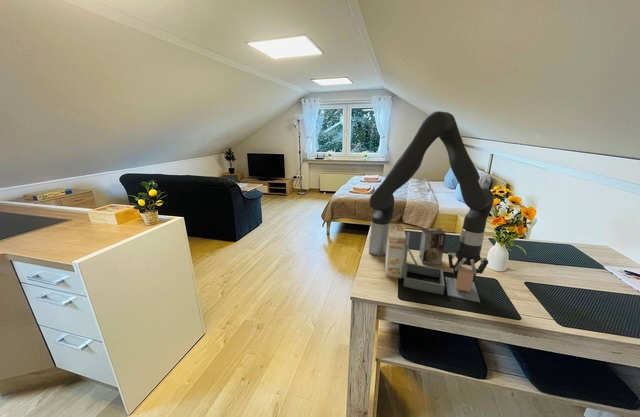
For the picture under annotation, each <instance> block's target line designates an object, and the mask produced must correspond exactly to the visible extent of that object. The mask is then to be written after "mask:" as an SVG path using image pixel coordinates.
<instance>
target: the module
mask: <svg viewBox="0 0 640 417" xmlns="http://www.w3.org/2000/svg"><path fill="white" fill-rule="evenodd" d="M473 277H474V272H473V270H472V267H471V266H469V265H462V266H461V267H460V268H458V273H457V278H456V279H455V278H454V277H453V278H454V282H455V288H456V289H459V290H464V291H469V292H470V290H471V286H472V281H473ZM473 282H474V281H473Z"/></svg>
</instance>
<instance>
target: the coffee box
mask: <svg viewBox="0 0 640 417" xmlns="http://www.w3.org/2000/svg"><path fill="white" fill-rule="evenodd" d="M420 236H421V238H420V243H419V244H420V245H419V255H418V258H419V261H420V262H421V264H427V265H428V264H435V265H441V264H442V261H443V255H444V249H445V241H446V236H447V234H446V232H445V231H444V230H443V229H442V228H435V227H434V228H432V227H431V228H428V227H425V228H423V227H422V229H421V235H420Z"/></svg>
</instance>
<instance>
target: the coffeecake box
mask: <svg viewBox="0 0 640 417" xmlns="http://www.w3.org/2000/svg"><path fill="white" fill-rule="evenodd" d="M405 230H406V229H405V226H404V225H403V224H393V223H390V224H389V227H388V237H387V248H386V255H385V259H384V261H385V262H384V263H385V277H391V278H396V279H402V271H403V262H404V253H405V245H406V238H407V233H406V231H405Z"/></svg>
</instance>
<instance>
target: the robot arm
mask: <svg viewBox="0 0 640 417" xmlns="http://www.w3.org/2000/svg"><path fill="white" fill-rule="evenodd" d="M436 139H440V141H441V142H442V143H443V145H444V146H445V150H446V152H447V155H448V162H449V165H450V169H451V172H452V173H453V175H454V178H456V180H457V183H458V184H459V185H458V186H459V189H460V193H461V197H462V199H463V202H464V203H465V205H466V206H467V207H468V208H469V211H468V212H467V213H466V215H465V216H464V219H463V223H462V224H463V225H462V227H461V228H462V229H461V232H460V235H459V242H458V247H457V250H456V252H450V251H449V252H447V256H448V265H449V266H448V267H449V268H450V269H452V276H453V277H452V278H455V279H456V278H457V273H458V268H460V267H461V266H462V265H469V266H471V267H472V270H473V272H474V277H473V281H472V282H474V281H475V280H476V275H477V274H483V273H484V271H485V269H486V267H487V266H488V264H489V261H488V258H487V257H481V252H482V248H483V242H484V238H485V231H486V226H487V219H488V217H489V215H490V213H491V211H492V208H493V204H494V200H495V196H494V193H493V191H492V190H491V189H489V188H485V187H481V184H480V179H481V176H480V173H479V172H478V169H477V168H476V166H475V164H474V162H473V161H472V159H471V157H470V155H469V153H468V151H467V148H466V147H465V145H464V144H465V143H464V141H463V139H462V136H461V133H460V131H459V128H458V124H457V121H456V119H455V116H454V115H453V114H452V113H450V112H447V111H441V110H440V111H439V110H438V111H433V112H431V113H428V115H427V116H426V117H425V118H424V120H423V121H422V123H421V124H420V127H419V128H418V130H417V132H416V134H415V136H414V137H413V139H412V140H411V142H409V144H408V146H407V147H406V148H405V150H404V151H403V153H402V154H401V155H400V156H399V158H398V159H397V161H396V162H395V164H393V166H392V168H391V169H390V171H389V173H388V174H387V176H386V177H385V178H384V179H383V181H382V182H381V183H380V185H379V186H378V187H376V190H374V192H373V193H372V194H371V195H370V197H369V205H370V208H371V209H372V210H374V211H375V212H374V213H373V214H372V216H371V227H370V235H369V240H368V241H369V243H368V253H370V254H372V255H374V256H378V257H379V256H380V257H381V256H386V248H387V237H388V227H389V224H391V221H392V220H391V219H392V218H393V215H394V214H393V213H394V208H395V196H394V193H395V192H396V191H398V190H399V189H400V188H402V187H403V186H404V185H406V183H408V182H409V181H410V180H411V179H412V178H413V176H415V174H416V173H417V172H418V170H419V169H420V167H421V165H422V162H423V160H424V157H425V154H426V152H427V150H428V149H429V148H430V146H432V144H433V143H434V142H435V141H436ZM455 257H456V259H457V260H456V262H455V263H454V264H453V260H454V259H455ZM478 262H479V263H480V264H479V266H478V267H476V264H477V263H478Z"/></svg>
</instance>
